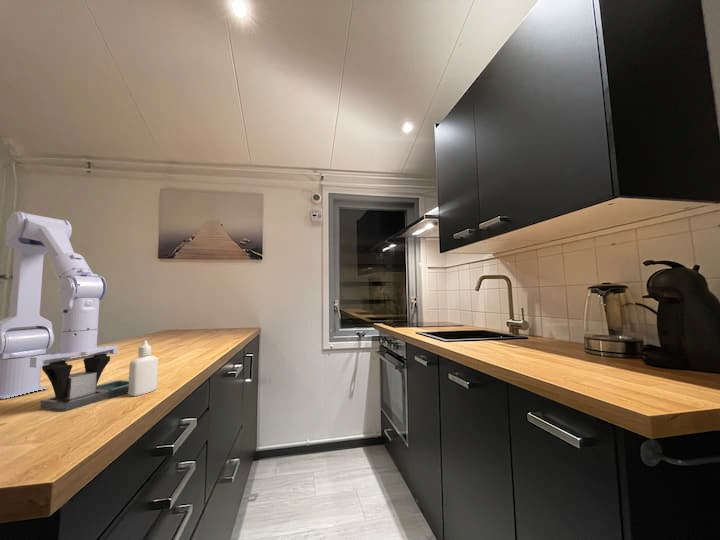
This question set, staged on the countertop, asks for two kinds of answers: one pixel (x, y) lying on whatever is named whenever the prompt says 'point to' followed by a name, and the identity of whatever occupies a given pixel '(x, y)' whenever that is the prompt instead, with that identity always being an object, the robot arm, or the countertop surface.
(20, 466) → the countertop surface
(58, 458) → the countertop surface
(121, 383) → the grey flat frame
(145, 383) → the eye dropper bottle
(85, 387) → the block
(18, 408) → the countertop surface
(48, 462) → the countertop surface
